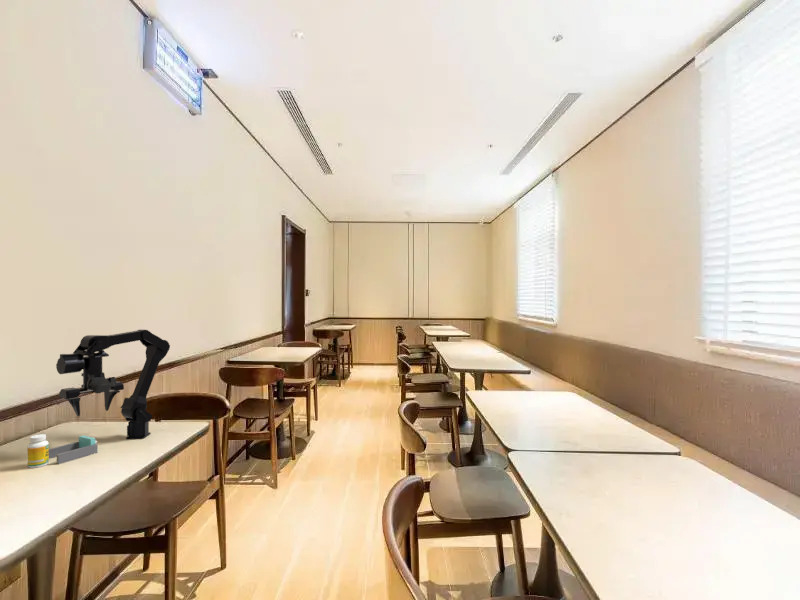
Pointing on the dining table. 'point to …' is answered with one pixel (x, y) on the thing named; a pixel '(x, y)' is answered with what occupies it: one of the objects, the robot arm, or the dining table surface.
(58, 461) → the lane
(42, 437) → the supplement bottle
